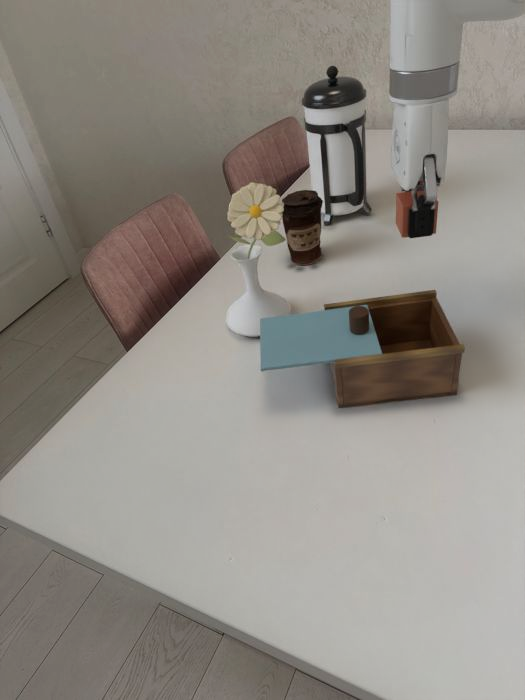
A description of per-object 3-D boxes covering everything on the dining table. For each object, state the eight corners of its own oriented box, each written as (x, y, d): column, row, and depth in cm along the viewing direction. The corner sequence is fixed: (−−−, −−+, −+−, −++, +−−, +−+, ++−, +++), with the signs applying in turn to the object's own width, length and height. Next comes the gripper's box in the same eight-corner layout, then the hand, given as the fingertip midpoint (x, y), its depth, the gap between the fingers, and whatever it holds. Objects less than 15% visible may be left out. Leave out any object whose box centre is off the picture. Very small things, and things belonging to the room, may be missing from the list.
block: (427, 219, 70) (429, 188, 68) (436, 233, 67) (438, 202, 64) (395, 223, 71) (396, 192, 68) (402, 238, 67) (403, 206, 65)
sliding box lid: (367, 307, 72) (366, 286, 70) (382, 356, 63) (382, 335, 61) (260, 321, 73) (256, 301, 71) (261, 371, 65) (256, 351, 62)
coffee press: (293, 223, 114) (275, 78, 95) (327, 194, 123) (317, 57, 104) (362, 234, 105) (358, 77, 86) (394, 202, 114) (396, 54, 95)
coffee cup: (332, 264, 98) (327, 201, 90) (291, 273, 97) (282, 211, 89) (321, 244, 104) (315, 184, 96) (282, 252, 104) (274, 193, 96)
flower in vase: (217, 338, 85) (179, 199, 69) (243, 300, 93) (214, 167, 77) (288, 348, 80) (266, 200, 64) (309, 307, 88) (294, 166, 72)
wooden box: (431, 337, 77) (435, 289, 71) (458, 397, 67) (465, 347, 61) (327, 350, 78) (323, 304, 73) (338, 411, 68) (335, 363, 63)
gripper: (377, 71, 64) (378, 205, 76) (405, 106, 51) (400, 261, 63) (437, 62, 63) (428, 198, 75) (480, 94, 50) (461, 253, 62)
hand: (415, 225), depth 69 cm, fingers closed on block, 4 cm apart
